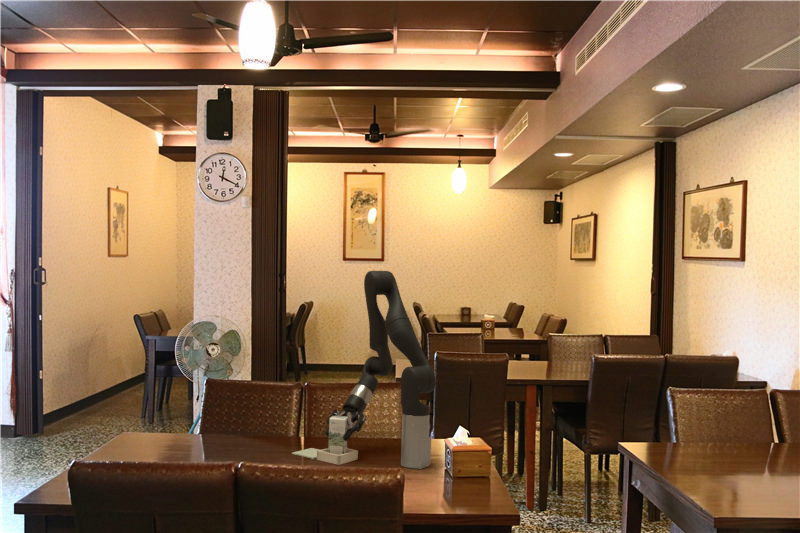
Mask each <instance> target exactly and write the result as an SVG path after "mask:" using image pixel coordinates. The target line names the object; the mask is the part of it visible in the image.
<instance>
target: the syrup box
mask: <svg viewBox="0 0 800 533" xmlns="http://www.w3.org/2000/svg"><path fill="white" fill-rule="evenodd" d="M347 421H348V417H344V416H332V417H331V418H330V419H329V425H328V426H329V437H328V447H327V448H328V453H332V454H337V455H341V454H344V453H347V448H348V441H345V440H344V439H343V436H344V434H345V433H346V431H347V429H349V425H348V423H347Z"/></svg>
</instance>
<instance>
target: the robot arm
mask: <svg viewBox="0 0 800 533" xmlns="http://www.w3.org/2000/svg"><path fill="white" fill-rule="evenodd" d="M363 283H364V284H363V288H364V295H365V296H364V297H365V303H366V310H367V316H368V324H369V325H368V326H369V329H368V330H369V349H370V350H372V351H375V352H376V353H377V356H374V355H373V356H372V355H371V356H370V357H368V358H367V359H366V360H365V361H364V365H363V368H362V372H361V377H360V378H359V380H358V381H357V383H356V385H355V386H354V387H353V389H352V390H351V392H350V393H349V395H348V397H347V398H346V399H345V401H344V403H343V405H342V409H341V410H338V409H336V408H334V409H333V410H332V412H331V413H330V415H329V417H328V418H327V420H326V423H327V427H326V430H325V432H324V435H325V436H326V437H327V438H329V419H330V418H331V417H332V416H344V417H348V421H347V423H348V429H347V431H346V433H345V434H344V436H343V439H344V440H345V441H347V442H348V441H349V440H350V439H351V437H352V435H353V433H355V432H356V433H360V431H361V429H362V428H363V426H364V424H365V422H366V421H367V418H366V416H365V415H364V412H365V410H366V409H367V406H368V405H369V403H370V401H371V399H372V397H373V395H374V393H375V391H376V390H377V388H378V386H379V380H378V379H377V378H376V376H380V377H388V376H389V375H390V374H391V372H393V367H394V366H393V365H394V364H393V358H392V355H391V352H390V347H389V340H390V341H391V344H392V345H393V346H394V347H395V349H397V350H398V351H399V352H400V353H402V355H404V356H405V357H406V359H407V360H408V361H409V363H410V364H411V366H407V367H405V368H404V369H403V370H402V372H401V376H400V404H401V409H402V417H401V418H402V420H401V421H402V422H401V445H400V446H401V448H400V449H401V450H400V465H401V467H405V468H409V469H420V470H422V469H424V468H427V467H428V468H429V467H430V466H431V459H432V458H431V456H432V437H431V436H430V411H431V410H430V406H429V404H426V403H423V402H421V401H420V396H419V395H420V394H428V393H431V392H433V391H434V390H435V388H436V386H437V380H436V379H437V378H436V375H435V372H434V369H433V368H432V365H431V364H430V362H429V360H428V359H427V356H426V355H425V352H424V350H423V348H422V347H421V344H420V342H419V339H418V338H417V335H416V333H415V329H414V326H413V324H412V323H411V322H412V321H411V320H410V317H409V316H408V313H407V311H406V308H405V305H404V303H403V300H402V297H401V293H400V290H399V286H398V283H397V280H396V278H395V276H394V274H393V273H392V272H391V271H390V270H369V271H368V272H366V273H365V276H364V280H363ZM378 296H385V297H386V300H387V302H388V303H387V304H388V310H387V312H386V315H385V318H384V316H383V315H382V312H381V310H380V308H379V306H378V305H379V304H378V299H377V298H378Z"/></svg>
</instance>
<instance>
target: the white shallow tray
mask: <svg viewBox="0 0 800 533" xmlns="http://www.w3.org/2000/svg"><path fill="white" fill-rule="evenodd" d="M291 455H295V456H299V457H304V458H308V459H310V460H311V461H313V460H317V461H319V462H325V463H329V464H335V465H337V466H340V465H344V464H346V463H351V462H353V461H357V460H358V459H359V450H357V449H352V448H349V447H347V453H344V454H341V455H337V454H332V453H328V447H327V448H323V449H318V448H314V447H310V448H305V449H301V450H298V451H297V450H296V451H294V452H291Z"/></svg>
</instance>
